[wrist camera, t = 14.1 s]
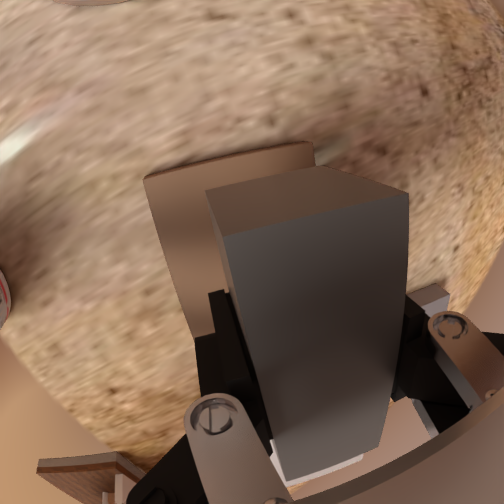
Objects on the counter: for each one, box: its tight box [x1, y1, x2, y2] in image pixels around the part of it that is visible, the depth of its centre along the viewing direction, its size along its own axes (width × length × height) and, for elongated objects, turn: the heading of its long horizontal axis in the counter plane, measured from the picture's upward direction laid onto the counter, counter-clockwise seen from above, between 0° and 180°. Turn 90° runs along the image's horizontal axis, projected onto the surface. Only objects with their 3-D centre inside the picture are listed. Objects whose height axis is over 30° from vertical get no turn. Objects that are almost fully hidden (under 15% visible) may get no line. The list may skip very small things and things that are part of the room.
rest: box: [143, 141, 316, 342], centre depth 19 cm, size 18×8×1 cm, turn 10°
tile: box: [407, 283, 450, 317], centre depth 23 cm, size 8×2×8 cm
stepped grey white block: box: [205, 166, 409, 487], centre depth 10 cm, size 18×7×4 cm, turn 10°
